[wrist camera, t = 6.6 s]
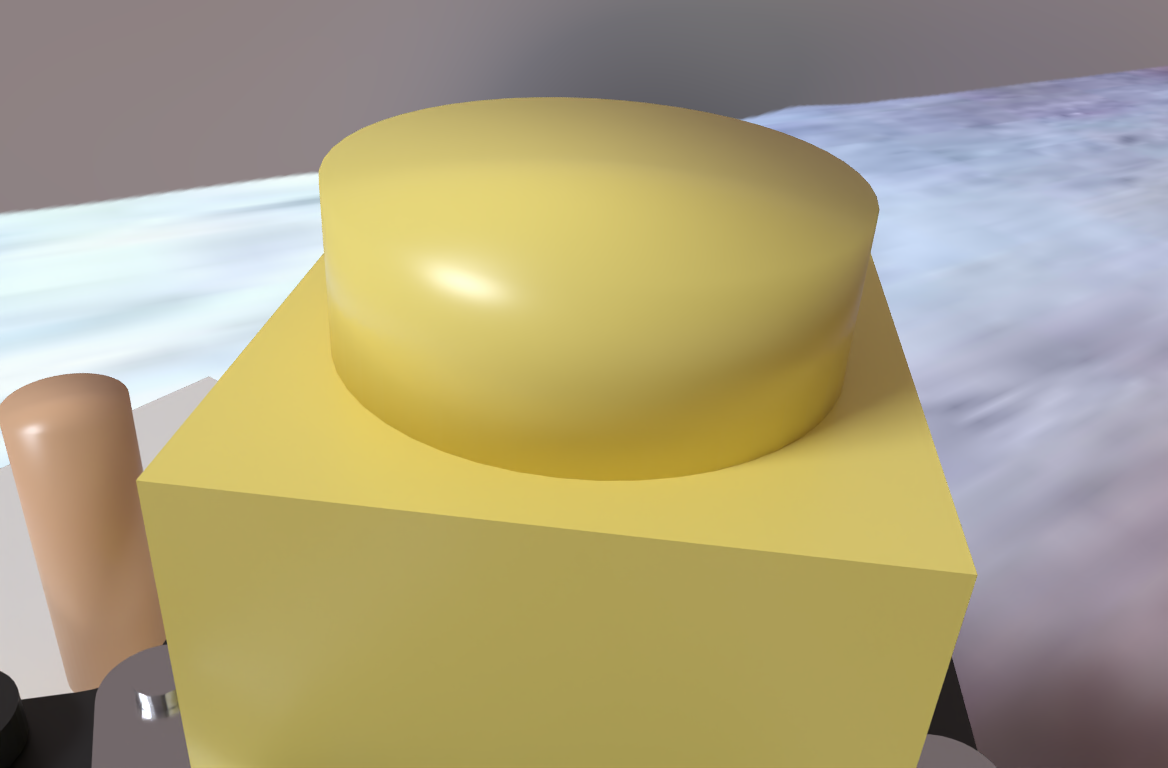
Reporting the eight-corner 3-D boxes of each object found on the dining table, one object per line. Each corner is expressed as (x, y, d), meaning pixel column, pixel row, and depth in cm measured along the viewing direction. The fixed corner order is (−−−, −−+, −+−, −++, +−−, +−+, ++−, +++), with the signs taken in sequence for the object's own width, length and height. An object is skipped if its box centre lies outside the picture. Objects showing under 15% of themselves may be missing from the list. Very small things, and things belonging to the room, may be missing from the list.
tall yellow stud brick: (397, 799, 18) (362, 63, 12) (743, 843, 18) (895, 108, 12) (274, 1199, 13) (96, 277, 7) (756, 1275, 13) (1041, 372, 6)
